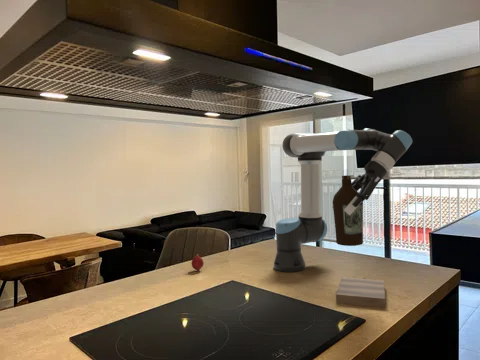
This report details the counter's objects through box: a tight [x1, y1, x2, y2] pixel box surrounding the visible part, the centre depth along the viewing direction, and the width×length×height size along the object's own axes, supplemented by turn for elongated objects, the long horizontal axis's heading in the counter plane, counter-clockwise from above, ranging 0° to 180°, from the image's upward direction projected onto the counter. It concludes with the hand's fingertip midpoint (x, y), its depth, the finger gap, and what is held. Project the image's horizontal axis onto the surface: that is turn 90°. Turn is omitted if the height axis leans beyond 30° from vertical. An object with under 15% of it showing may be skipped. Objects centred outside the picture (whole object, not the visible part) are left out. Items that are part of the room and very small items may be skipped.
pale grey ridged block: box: [335, 276, 386, 308], centre depth 129 cm, size 20×16×3 cm
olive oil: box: [332, 174, 364, 247], centre depth 128 cm, size 11×11×25 cm
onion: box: [191, 254, 205, 272], centre depth 170 cm, size 6×6×8 cm
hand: (340, 211), depth 128 cm, fingers closed on olive oil, 10 cm apart
